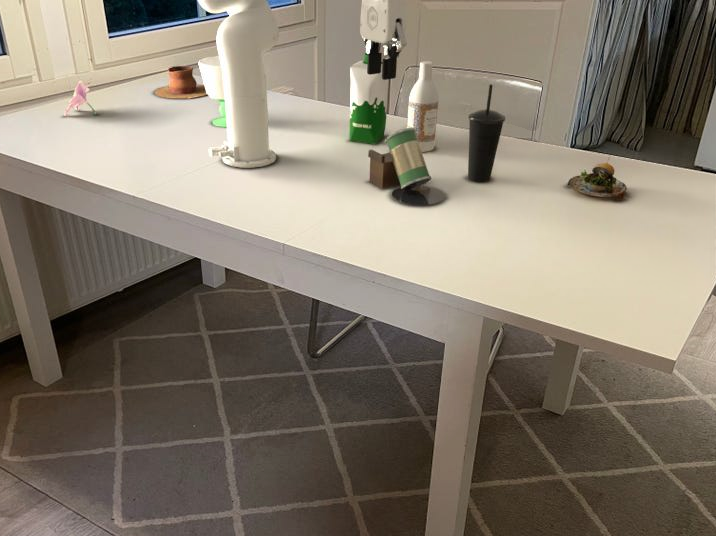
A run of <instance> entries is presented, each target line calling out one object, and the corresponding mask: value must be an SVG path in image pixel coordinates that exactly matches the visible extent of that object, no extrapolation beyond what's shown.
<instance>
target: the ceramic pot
mask: <svg viewBox="0 0 716 536" xmlns="http://www.w3.org/2000/svg"><path fill="white" fill-rule="evenodd" d="M193 70H194V68H193V67H192V66H188V65H187V66H185V65H176V66H171V67H169V68H167V72H168V75H169V77H170V78H169V81H168V85H167V86H163V87H160V88H157V89H156V90H155V91H154V94H155V95H156V96H158V97H160V98H165V99H166V98H167V99H186V100H187V99H188V100H189V99H192V98H193V99H194V98H198V97H204V96H206V95H208V94H207V92H206V88H205V84H197V80H196V78H195V77H194V75H193V74H194V73H193V72H194V71H193Z"/></svg>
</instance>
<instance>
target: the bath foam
mask: <svg viewBox="0 0 716 536" xmlns="http://www.w3.org/2000/svg"><path fill="white" fill-rule="evenodd" d="M433 67H434V64H433V62H432V61H428V60H423V61H421V62H420V63H419V72H418V80H417V81H416V82H415V83H414V85H413V87H412V89H411V91H410V93H409V98H408V108H407V109H408V111H407V124H406V125H407V126H406V128H415V130H416V132H415V133H416V136H417V139H418V142H419V145H420V148H421V151H422V153H426V152H431V151H432V150H434V149H435V142H436V131H437V122H438V109H439V108H438V107H439V93H438V89H437V87H436V85H435V83H434V81H433V78H432V77H433Z"/></svg>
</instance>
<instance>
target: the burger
mask: <svg viewBox="0 0 716 536" xmlns="http://www.w3.org/2000/svg"><path fill="white" fill-rule="evenodd" d="M610 158H611V156H609V157H608V160H607V161H606V162H602V163H597V164H595V165H594V166H593V167H592V169H591V171H592V173H591V172H590V173H588V172H587V170H586V169H584V171H581V172H580V175H575V176H573V177H571V178H569V179H568V181H567V187H569V186H571V187H572V189H574V191H577V192H578V193H581V194H584V195H588V196H592V197H600V198H603V197H604V198H605V197H608V198H609V197H614V196H617V197H616V201H617V202H620V201H622V200H624V198H625V195H627V189H628V188H627V185H626V184H625V183H624V182H623V181H621V180H619V179H617V177H615V176H614V175H615V168H614V166H613V165H611V164H610V163H608V162H609V160H610Z"/></svg>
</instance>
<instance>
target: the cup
mask: <svg viewBox="0 0 716 536" xmlns="http://www.w3.org/2000/svg"><path fill="white" fill-rule="evenodd" d="M198 66H199V70H200V74H201V77H202V81H203V85H205V88H206V92H207V94H206V95H208V96H209V97H210V98H211V99H212V100H215V101H217V102H220V103H221V104H220V106H219V113H220V115H221V116H222V117H218V118H215V119H213V120H212V124H213V126H216V127H221V128H227V121H226V107H225V94H224V83H223V73H222V66H221V61H220V57H219V55H213V56H209V57H204V58H201V59H199V61H198Z"/></svg>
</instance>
